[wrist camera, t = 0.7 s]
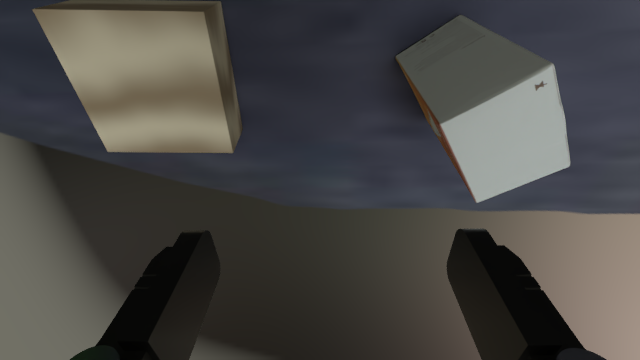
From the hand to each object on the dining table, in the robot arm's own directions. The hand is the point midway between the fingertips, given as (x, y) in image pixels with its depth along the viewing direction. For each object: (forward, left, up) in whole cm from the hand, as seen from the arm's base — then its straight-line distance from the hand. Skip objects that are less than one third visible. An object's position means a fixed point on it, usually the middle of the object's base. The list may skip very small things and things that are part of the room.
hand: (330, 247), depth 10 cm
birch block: (+2, -15, -23) cm, 27 cm away
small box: (+2, +11, -22) cm, 25 cm away
